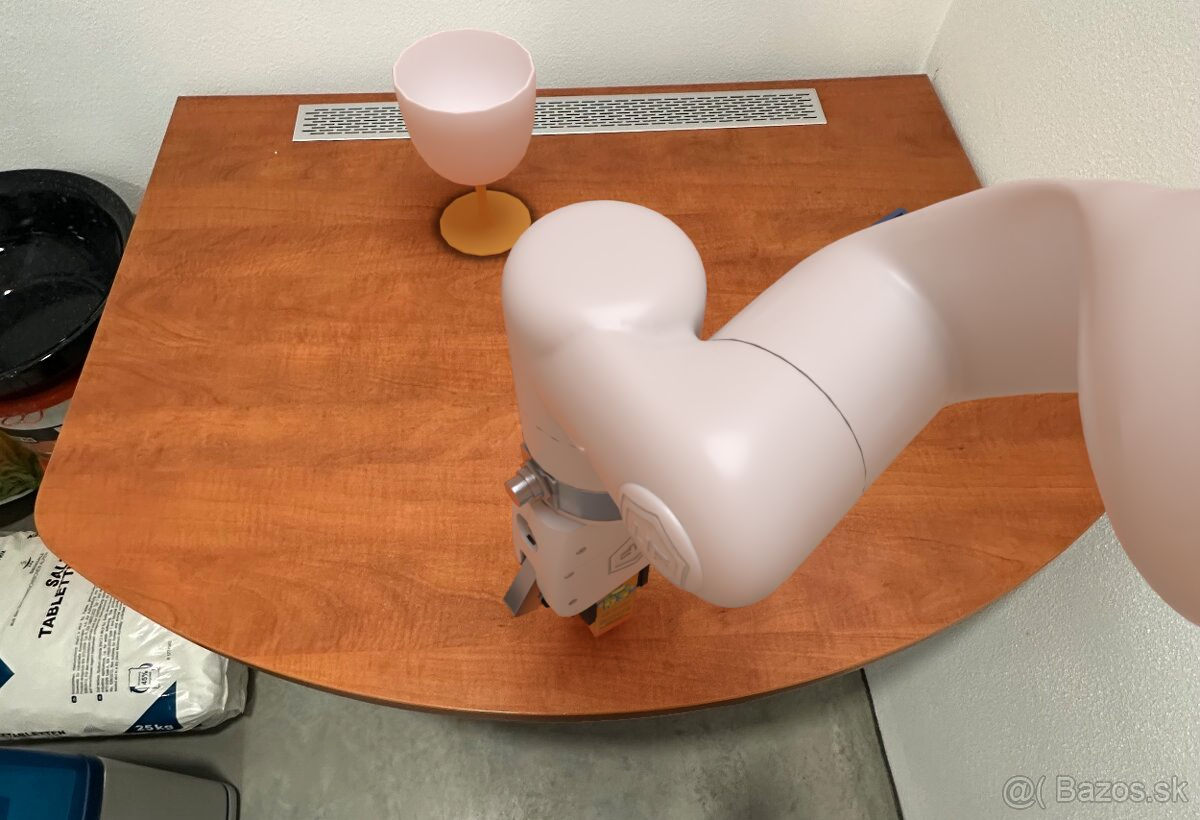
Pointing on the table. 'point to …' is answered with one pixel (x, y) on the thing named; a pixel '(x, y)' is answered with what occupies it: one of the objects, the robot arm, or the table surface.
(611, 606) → the supplement box
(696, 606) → the table surface
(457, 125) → the cup
